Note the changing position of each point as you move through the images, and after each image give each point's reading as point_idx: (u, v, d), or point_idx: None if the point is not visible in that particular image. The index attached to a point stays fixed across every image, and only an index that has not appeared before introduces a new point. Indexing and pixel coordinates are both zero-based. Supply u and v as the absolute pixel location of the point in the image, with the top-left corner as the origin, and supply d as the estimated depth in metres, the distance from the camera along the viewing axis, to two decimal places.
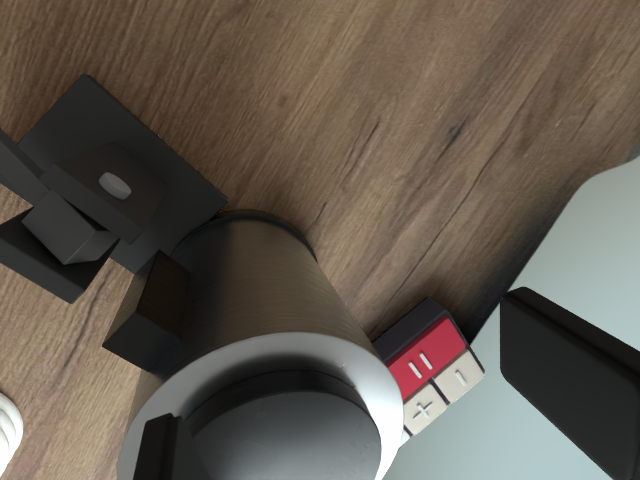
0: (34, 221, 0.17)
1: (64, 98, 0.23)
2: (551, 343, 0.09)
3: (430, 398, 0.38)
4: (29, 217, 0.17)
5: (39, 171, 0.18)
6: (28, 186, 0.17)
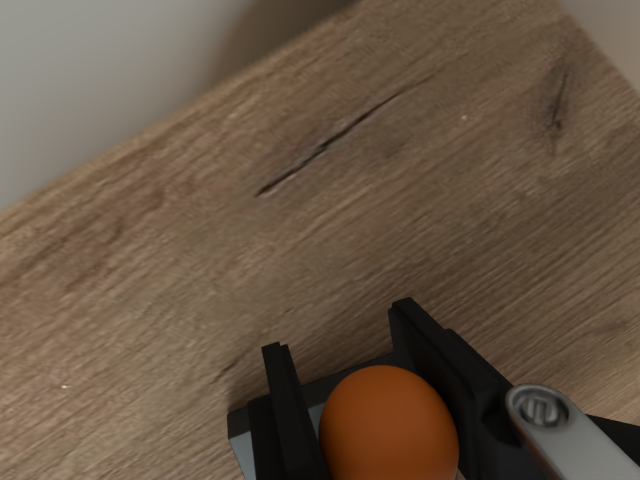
0: None
1: None
2: (417, 351, 0.09)
3: None
4: None
5: None
6: None
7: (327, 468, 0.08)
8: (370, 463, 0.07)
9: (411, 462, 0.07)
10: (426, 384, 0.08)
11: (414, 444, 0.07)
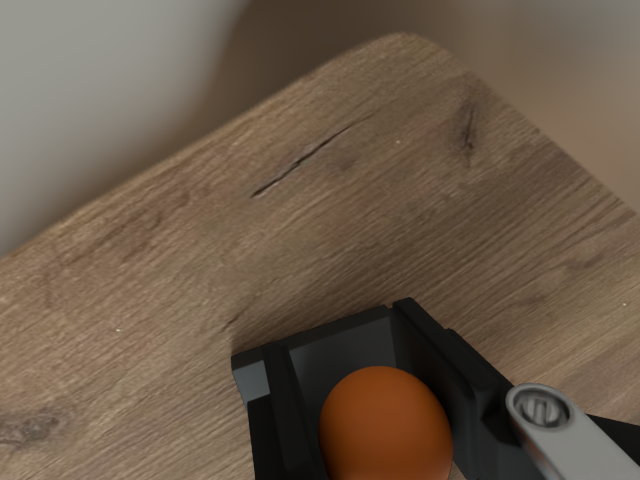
0: None
1: (360, 329, 0.20)
2: (418, 351, 0.09)
3: None
4: None
5: None
6: None
7: (329, 475, 0.08)
8: None
9: None
10: (434, 404, 0.08)
11: None
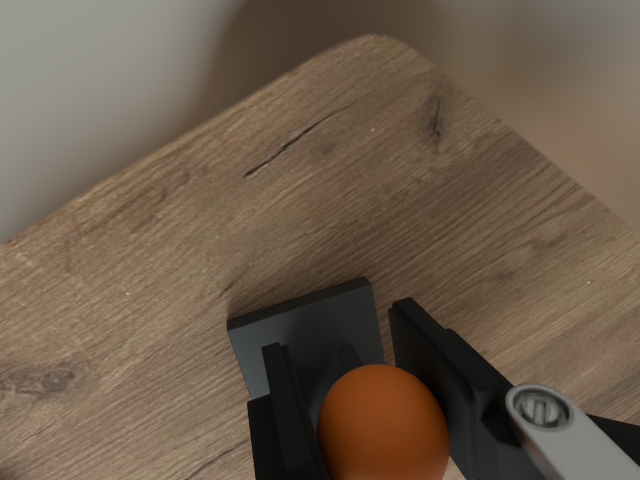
0: None
1: (341, 296, 0.22)
2: (418, 351, 0.09)
3: None
4: None
5: None
6: None
7: (328, 474, 0.08)
8: None
9: None
10: (437, 415, 0.08)
11: None
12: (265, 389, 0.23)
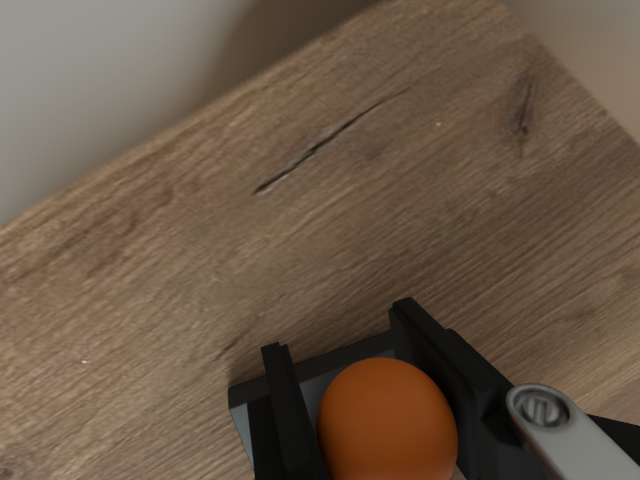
0: None
1: (386, 355, 0.16)
2: (418, 351, 0.09)
3: None
4: None
5: None
6: None
7: (326, 464, 0.08)
8: (372, 468, 0.07)
9: (414, 468, 0.07)
10: (429, 382, 0.08)
11: (418, 451, 0.07)
12: None
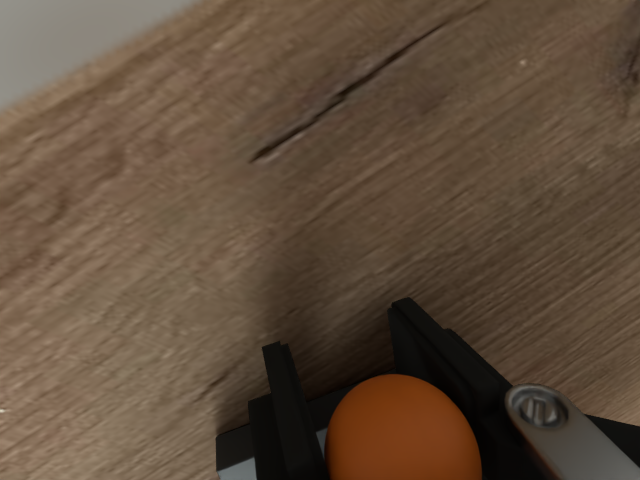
0: None
1: None
2: (417, 351, 0.09)
3: None
4: None
5: None
6: None
7: None
8: (379, 474, 0.06)
9: (425, 472, 0.06)
10: (439, 391, 0.08)
11: (427, 451, 0.06)
12: None
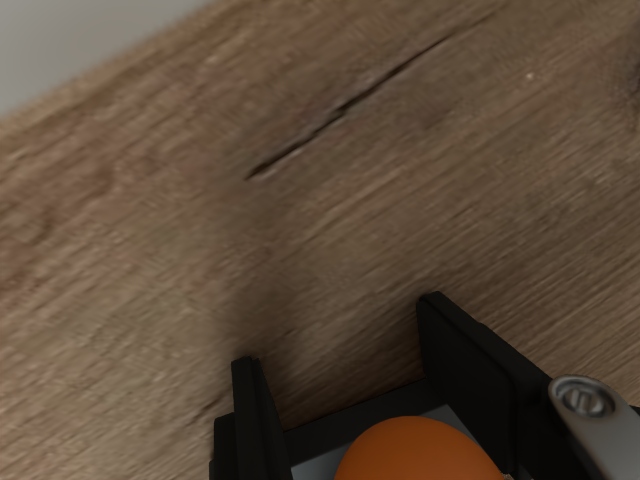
0: None
1: (436, 413, 0.11)
2: (450, 344, 0.09)
3: None
4: None
5: None
6: None
7: None
8: None
9: None
10: (473, 445, 0.06)
11: None
12: None
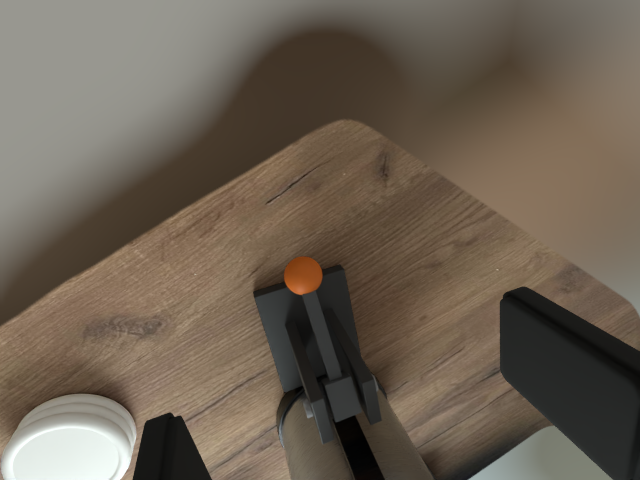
0: (331, 389, 0.28)
1: (325, 277, 0.35)
2: (551, 343, 0.09)
3: None
4: (330, 386, 0.28)
5: None
6: (330, 363, 0.29)
7: (285, 279, 0.30)
8: (294, 272, 0.29)
9: (304, 271, 0.29)
10: (313, 259, 0.30)
11: (305, 267, 0.29)
12: (277, 335, 0.36)
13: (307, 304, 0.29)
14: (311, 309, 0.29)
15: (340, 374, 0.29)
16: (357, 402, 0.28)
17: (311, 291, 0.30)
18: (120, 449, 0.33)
